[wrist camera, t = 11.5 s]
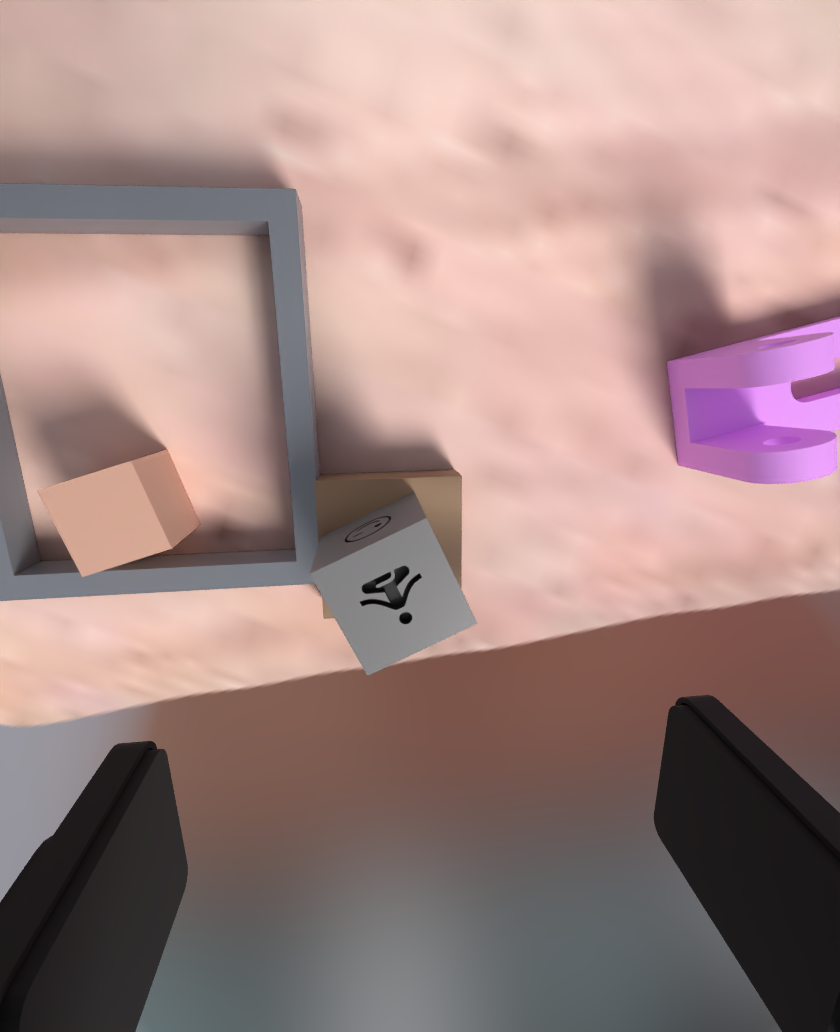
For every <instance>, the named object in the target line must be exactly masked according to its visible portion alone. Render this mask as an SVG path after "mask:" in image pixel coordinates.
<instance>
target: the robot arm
mask: <svg viewBox="0 0 840 1032" xmlns="http://www.w3.org/2000/svg"><path fill="white" fill-rule="evenodd" d="M654 823H655V827H656V830H657V833H658V835H659V837H660V839H661V841H662V842H663V844H664V845H665V847H666V848H667V850H668V852H669V853H670V855H671V856H672V858H673V860H674V861H675V863H676V864H677V865H678V867H679V869H680V871H681V872H682V874H683V875H684V877H685V879H686V880H687V882H688V883H689V885H690V886H691V888H692V890H693V891H694V893H695V894H696V896H697V898H698V899H699V901H700V902H701V904H702V905H703V907H704V908H705V910H706V911H707V913H708V915H709V916H710V918H711V920H712V921H713V923H714V924H715V926H716V927H717V929H718V931H719V932H720V934H721V935H722V937H723V938H724V940H725V942H726V943H727V945H728V947H729V948H730V950H731V951H732V953H733V954H734V956H735V958H736V959H737V961H738V962H739V964H740V965H741V967H742V969H743V970H744V972H745V973H746V975H747V976H748V978H749V980H750V981H751V983H752V984H753V986H754V988H755V989H756V991H757V992H758V994H759V996H760V997H761V999H762V1000H763V1002H764V1003H765V1005H766V1006H767V1008H768V1010H769V1011H770V1013H771V1014H772V1016H773V1018H774V1019H775V1021H776V1022H777V1024H778V1026H779V1027H780V1029H781V1030H782V1032H840V813H839V812H838V811H837V810H836V809H835V808H834V807H833V806H832V805H830V804H829V803H828V802H827V801H826V800H825V799H824V798H823V797H822V796H821V795H820V794H819V793H818V792H816V791H815V790H814V789H813V788H812V787H811V786H810V785H809V784H808V783H807V782H806V781H804V779H802V778H801V777H800V776H799V775H798V774H797V773H796V772H795V771H794V770H793V769H792V768H791V767H790V766H788V765H787V764H786V763H785V762H784V761H783V760H782V759H781V758H780V757H779V756H778V755H777V754H775V753H774V752H773V751H772V750H771V749H770V748H769V747H768V746H767V745H766V744H765V743H764V742H762V740H760V739H759V738H758V737H757V736H756V735H755V734H754V733H753V732H752V731H751V730H750V729H749V728H748V727H746V726H745V725H744V724H743V723H742V722H741V721H740V720H739V719H738V718H737V717H736V716H735V715H734V714H732V713H731V712H730V711H729V710H728V709H727V708H726V707H725V706H724V705H723V704H722V703H721V702H719V701H718V700H717V699H716V698H715V697H713V696H710V695H703V696H691V697H681V698H679V699H678V700H677V702H676V705H675V706H672V707H671V708H670V710H669V713H668V720H667V727H666V734H665V741H664V748H663V755H662V762H661V769H660V776H659V783H658V790H657V797H656V804H655V811H654ZM187 874H188V866H187V860H186V854H185V849H184V844H183V839H182V832H181V827H180V822H179V816H178V811H177V806H176V800H175V795H174V790H173V784H172V779H171V773H170V768H169V763H168V757H167V754H166V751H165V750H164V749H157V747H156V744H155V743H154V742H152V741H146V742H145V741H144V742H132V743H121V744H117V745H115V746H114V747H113V748H112V749H111V750H110V752H109V753H108V755H107V756H106V758H105V759H104V761H103V762H102V764H101V765H100V767H99V768H98V770H97V771H96V773H95V774H94V776H93V777H92V779H91V780H90V781H89V783H88V785H87V786H86V787H85V789H84V790H83V792H82V793H81V795H80V796H79V798H78V799H77V801H76V802H75V804H74V805H73V807H72V808H71V810H70V811H69V813H68V814H67V816H66V817H65V819H64V820H63V822H62V823H61V825H60V826H59V828H58V829H57V830H56V832H55V833H54V835H53V836H51V837H49V838H48V839H46V840H45V841H44V842H43V843H42V844H41V845H40V847H39V848H38V849H37V850H36V852H35V853H34V854H33V856H32V857H31V859H30V860H29V862H28V863H27V865H26V866H25V867H24V869H23V870H22V872H21V873H20V875H19V876H18V877H17V879H16V880H15V882H14V883H13V885H12V886H11V888H10V889H9V890H8V892H7V894H6V895H5V897H4V898H3V899H2V901H1V902H0V1032H135V1031H136V1028H137V1025H138V1022H139V1019H140V1016H141V1014H142V1011H143V1008H144V1005H145V1002H146V1000H147V997H148V994H149V991H150V988H151V985H152V982H153V979H154V977H155V973H156V971H157V968H158V965H159V962H160V959H161V957H162V953H163V951H164V948H165V945H166V942H167V939H168V936H169V934H170V931H171V928H172V925H173V922H174V919H175V916H176V914H177V910H178V908H179V905H180V902H181V899H182V896H183V893H184V890H185V887H186V882H187Z"/></svg>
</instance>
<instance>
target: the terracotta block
mask: <svg viewBox="0 0 840 1032" xmlns="http://www.w3.org/2000/svg"><path fill="white" fill-rule="evenodd" d="M37 492H38V494H39V496H40V498H41V500H42V502H43V504H44V506H45V507H46V509H47V511H48V513H49V515H50V517H51V519H52V521H53V523H54V524H55V526H56V528H57V530H58V532H59V534H60V536H61V538H62V540H63V542H64V543H65V545H66V547H67V549H68V551H69V553H70V555H71V557H72V559H73V560H74V562H75V564H76V566H77V568H78V570H79V572H80V574H81V576H82V577H84V576H88V575H91V574H94V573H97V572H100V571H103V570H106V569H109V568H113V567H116V566H119V565H122V564H125V563H128V562H131V561H135V560H138V559H141V558H144V557H147V556H150V555H153V554H156V553H160V552H163V551H166V550H169V549H172V548H173V547H174V546H176V545H177V544H178V543H179V542H180V541H182V540H183V539H184V538H185V537H186V536H188V535H189V534H190V533H191V532H192V531H194V530H195V529H196V528H197V527H198V526H200V525H201V524H200V522H199V519H198V517H197V515H196V513H195V510H194V508H193V506H192V504H191V501H190V499H189V497H188V495H187V492H186V490H185V488H184V486H183V483H182V481H181V479H180V477H179V474H178V472H177V470H176V467H175V465H174V463H173V461H172V458H171V456H170V454H169V452H168V449H167V450H164V451H160V452H157V453H154V454H151V455H148V456H144V457H141V458H138V459H135V460H132V461H129V462H125V463H122V464H119V465H116V466H113V467H109V468H106V469H103V470H100V471H97V472H94V473H90V474H87V475H84V476H81V477H78V478H74V479H71V480H68V481H65V482H62V483H59V484H55V485H52V486H49V487H46V488H43V489H39V490H37Z"/></svg>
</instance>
